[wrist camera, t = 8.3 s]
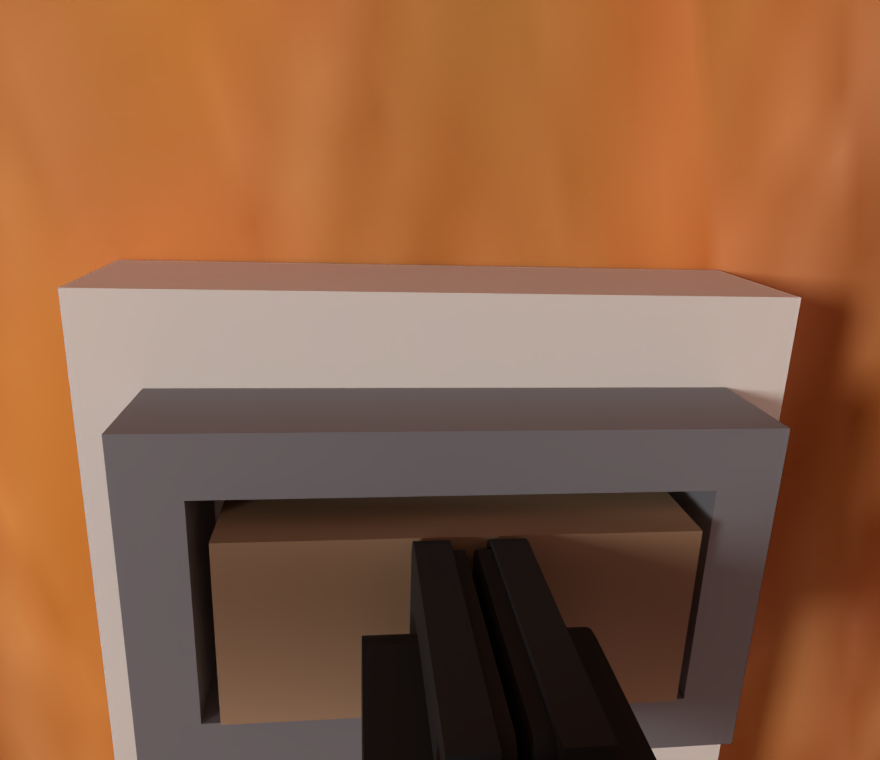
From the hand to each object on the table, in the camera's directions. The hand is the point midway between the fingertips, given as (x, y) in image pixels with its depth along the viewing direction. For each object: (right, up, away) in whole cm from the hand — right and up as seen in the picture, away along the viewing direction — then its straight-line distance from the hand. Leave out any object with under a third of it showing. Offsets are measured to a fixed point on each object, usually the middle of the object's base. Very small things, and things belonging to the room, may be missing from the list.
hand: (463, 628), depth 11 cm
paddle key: (0, +1, +2) cm, 2 cm away
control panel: (-1, -6, +8) cm, 10 cm away
